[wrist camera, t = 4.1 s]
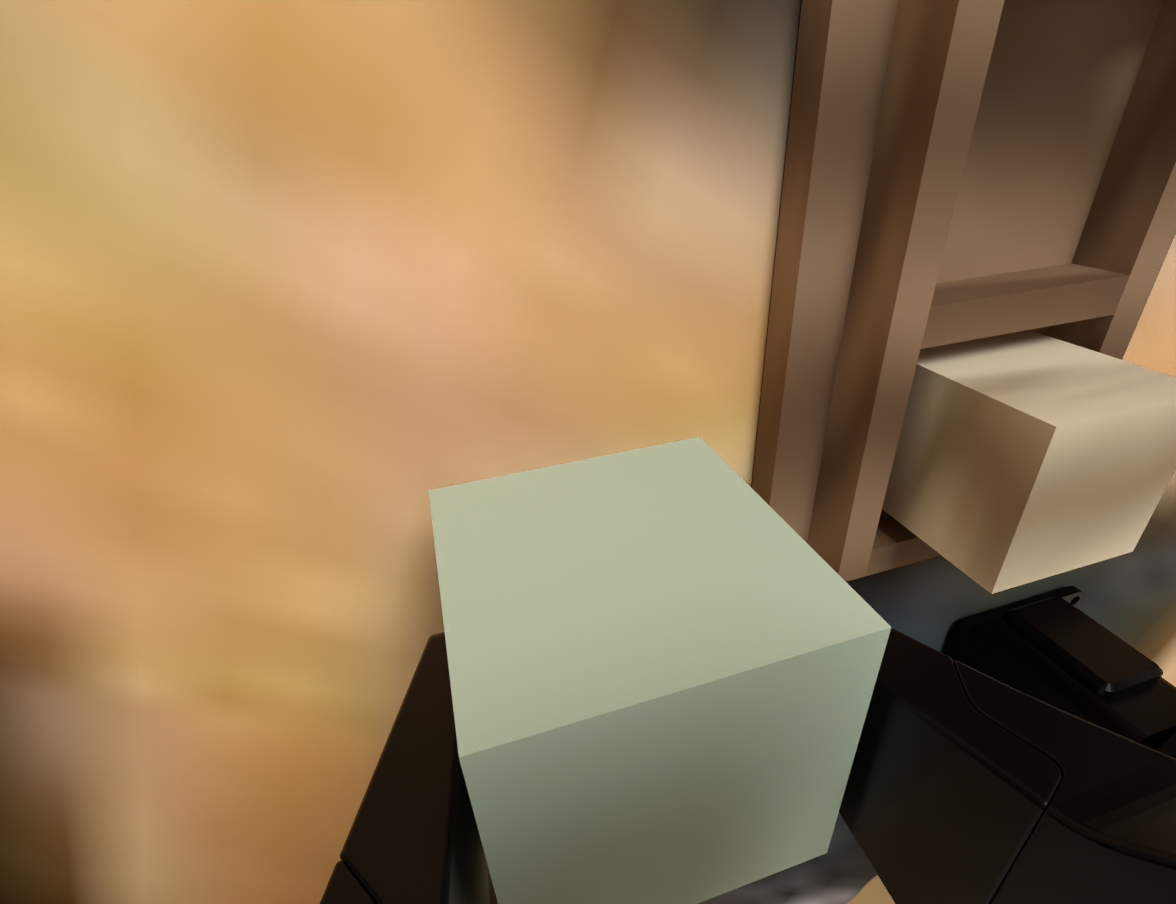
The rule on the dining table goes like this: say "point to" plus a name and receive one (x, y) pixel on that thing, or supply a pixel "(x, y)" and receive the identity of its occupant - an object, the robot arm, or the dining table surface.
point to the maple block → (1031, 456)
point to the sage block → (646, 677)
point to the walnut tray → (950, 223)
